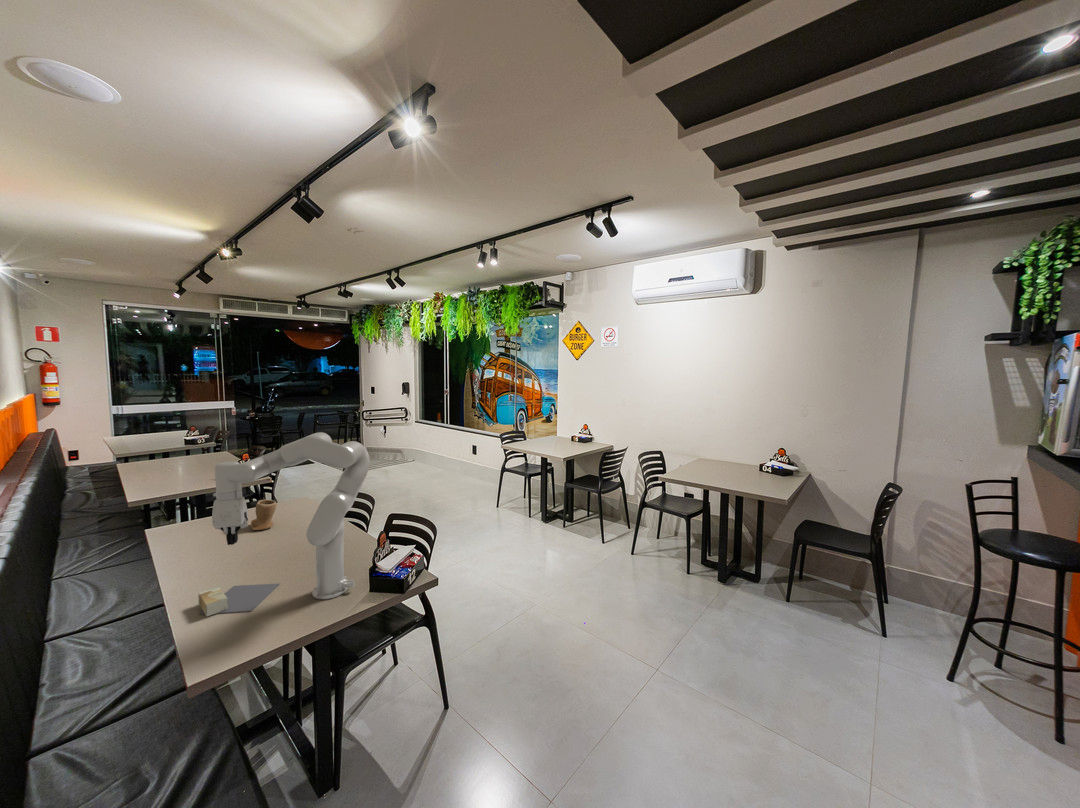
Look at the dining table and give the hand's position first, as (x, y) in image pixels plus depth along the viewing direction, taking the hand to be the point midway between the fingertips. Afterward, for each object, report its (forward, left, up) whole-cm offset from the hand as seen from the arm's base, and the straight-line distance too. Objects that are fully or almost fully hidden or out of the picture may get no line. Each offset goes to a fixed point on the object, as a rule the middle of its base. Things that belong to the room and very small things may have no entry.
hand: (232, 543), depth 148 cm
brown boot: (+30, -77, -22) cm, 86 cm away
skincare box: (+8, +1, -19) cm, 21 cm away
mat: (-3, 0, -22) cm, 22 cm away
